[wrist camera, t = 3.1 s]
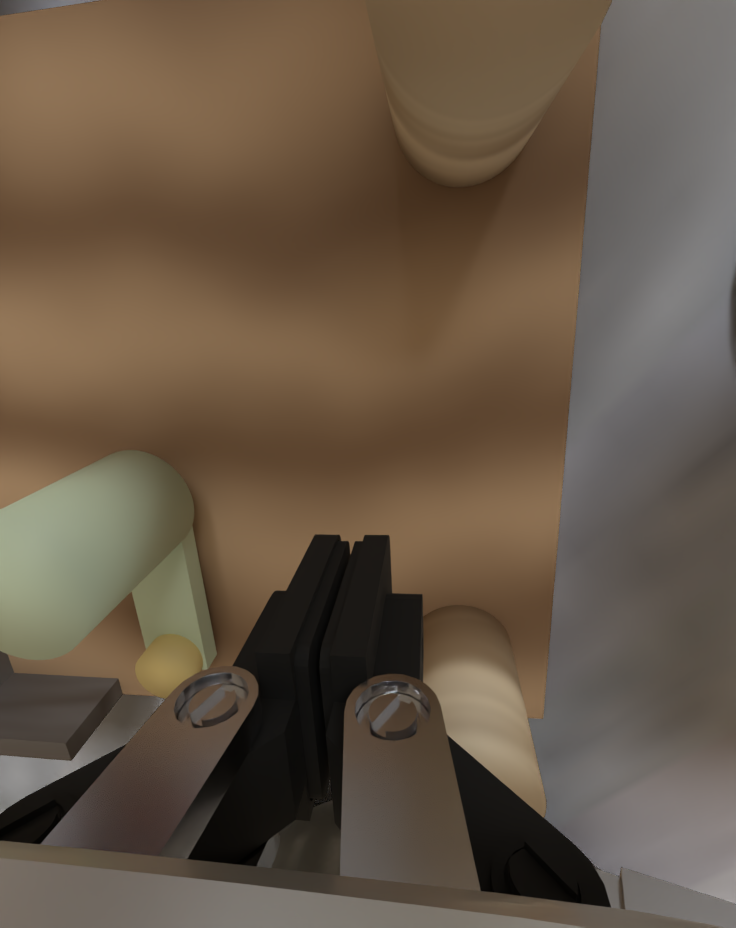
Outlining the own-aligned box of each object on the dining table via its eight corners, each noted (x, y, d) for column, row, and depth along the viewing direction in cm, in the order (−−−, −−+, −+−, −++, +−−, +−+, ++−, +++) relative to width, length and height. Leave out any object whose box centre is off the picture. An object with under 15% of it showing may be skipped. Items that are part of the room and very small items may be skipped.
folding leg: (235, 665, 18) (150, 825, 13) (148, 661, 19) (31, 813, 13) (195, 441, 15) (64, 523, 10) (93, 443, 16) (-85, 522, 10)
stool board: (-155, 82, 15) (-663, -101, 8) (582, -21, 12) (786, -447, 5) (38, 654, 22) (-142, 819, 15) (532, 677, 19) (589, 896, 12)
